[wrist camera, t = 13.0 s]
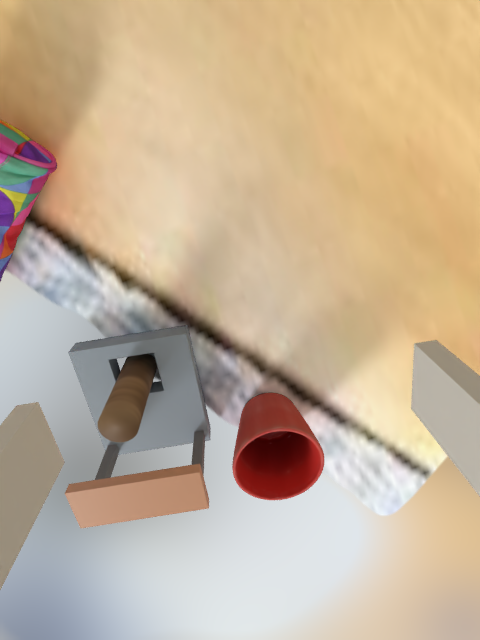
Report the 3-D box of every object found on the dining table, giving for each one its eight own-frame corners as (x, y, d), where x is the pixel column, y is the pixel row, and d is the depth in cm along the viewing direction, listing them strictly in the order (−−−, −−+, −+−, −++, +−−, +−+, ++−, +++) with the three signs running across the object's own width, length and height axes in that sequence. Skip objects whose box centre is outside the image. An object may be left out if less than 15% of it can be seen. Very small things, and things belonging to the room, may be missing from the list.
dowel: (121, 354, 47) (92, 413, 36) (152, 349, 47) (132, 406, 36) (129, 381, 49) (104, 445, 38) (159, 376, 49) (143, 438, 38)
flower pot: (213, 412, 51) (212, 464, 42) (277, 367, 49) (291, 413, 40) (259, 457, 55) (267, 514, 46) (321, 418, 53) (342, 469, 44)
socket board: (75, 343, 46) (25, 407, 34) (187, 325, 46) (177, 383, 34) (112, 443, 52) (80, 528, 40) (210, 428, 52) (208, 508, 40)
